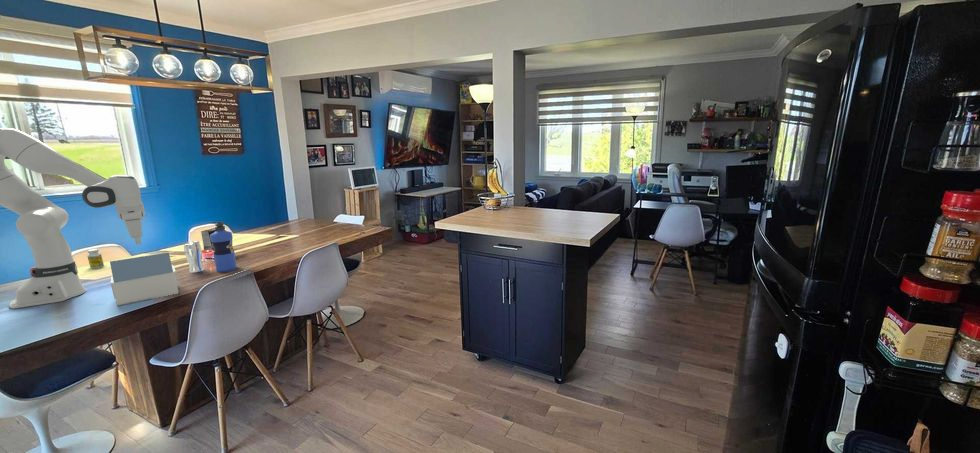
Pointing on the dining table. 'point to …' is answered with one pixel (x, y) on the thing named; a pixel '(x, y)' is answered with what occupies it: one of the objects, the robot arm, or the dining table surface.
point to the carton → (145, 288)
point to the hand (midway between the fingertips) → (138, 244)
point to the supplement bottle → (95, 258)
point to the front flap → (141, 267)
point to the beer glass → (194, 256)
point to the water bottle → (223, 249)
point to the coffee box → (207, 239)
